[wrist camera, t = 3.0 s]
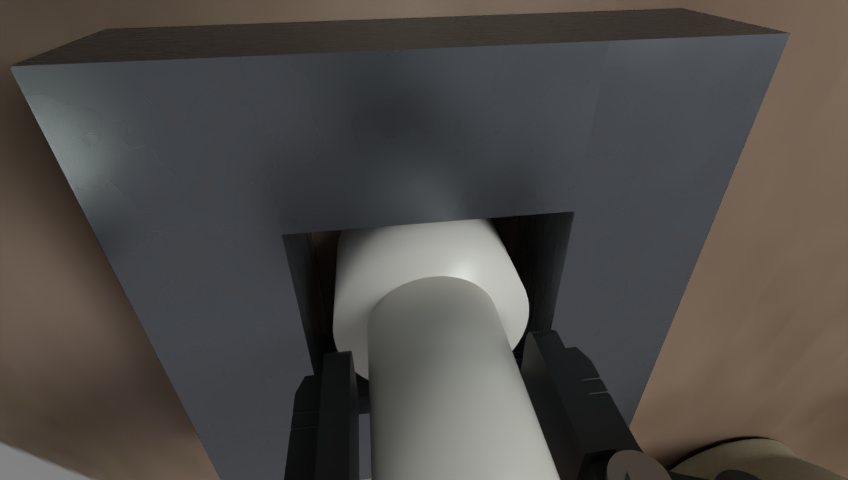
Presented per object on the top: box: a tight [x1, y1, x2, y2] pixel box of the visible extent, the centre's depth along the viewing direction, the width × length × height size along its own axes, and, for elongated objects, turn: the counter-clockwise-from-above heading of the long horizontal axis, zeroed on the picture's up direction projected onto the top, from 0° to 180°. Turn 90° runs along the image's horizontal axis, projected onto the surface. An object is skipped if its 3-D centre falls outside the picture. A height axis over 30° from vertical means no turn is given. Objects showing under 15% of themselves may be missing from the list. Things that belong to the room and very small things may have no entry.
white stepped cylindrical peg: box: [333, 218, 560, 480], centre depth 13 cm, size 6×6×11 cm
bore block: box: [9, 8, 790, 480], centre depth 15 cm, size 16×16×4 cm
